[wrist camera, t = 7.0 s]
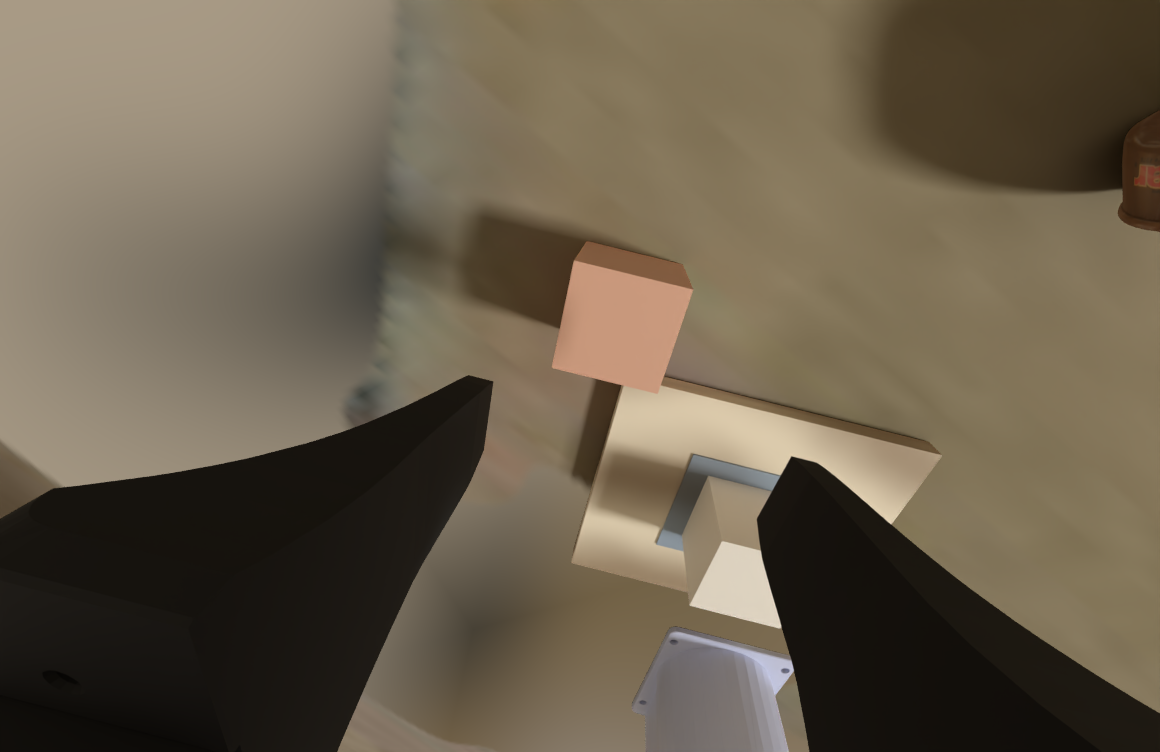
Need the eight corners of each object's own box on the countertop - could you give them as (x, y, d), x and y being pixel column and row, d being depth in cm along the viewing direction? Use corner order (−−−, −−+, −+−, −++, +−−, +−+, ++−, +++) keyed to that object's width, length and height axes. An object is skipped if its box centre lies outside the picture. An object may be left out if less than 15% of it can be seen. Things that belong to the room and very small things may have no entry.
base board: (810, 608, 25) (816, 627, 24) (573, 548, 26) (571, 564, 25) (929, 442, 20) (944, 456, 19) (626, 367, 20) (626, 377, 19)
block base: (757, 554, 23) (780, 628, 19) (681, 535, 23) (689, 605, 19) (791, 496, 21) (822, 566, 17) (708, 475, 21) (722, 541, 17)
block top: (654, 352, 20) (657, 394, 16) (567, 330, 20) (551, 367, 16) (682, 263, 18) (693, 289, 14) (586, 240, 18) (574, 260, 14)
